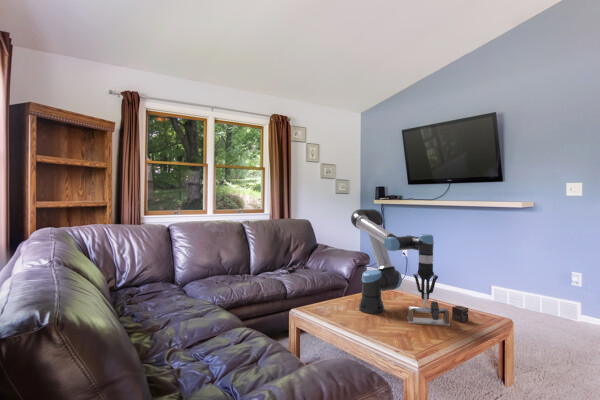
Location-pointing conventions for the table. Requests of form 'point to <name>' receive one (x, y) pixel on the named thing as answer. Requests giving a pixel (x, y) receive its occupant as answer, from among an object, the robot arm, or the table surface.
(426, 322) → the pipe rig
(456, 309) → the box
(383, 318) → the table surface
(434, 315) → the grey hex nut
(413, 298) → the table surface
